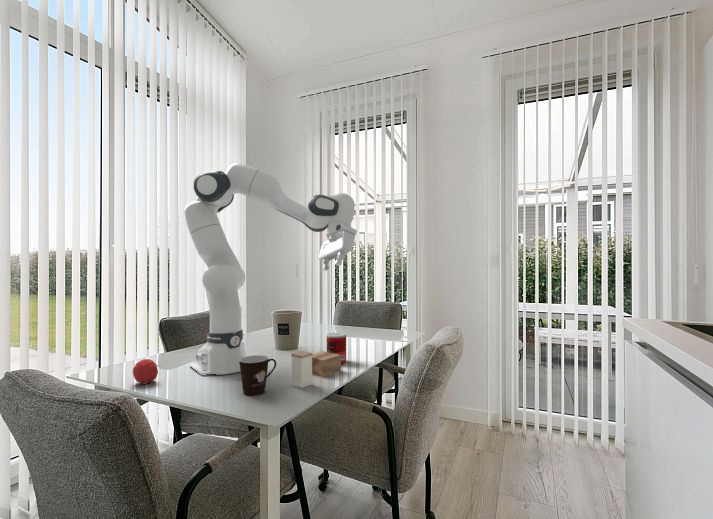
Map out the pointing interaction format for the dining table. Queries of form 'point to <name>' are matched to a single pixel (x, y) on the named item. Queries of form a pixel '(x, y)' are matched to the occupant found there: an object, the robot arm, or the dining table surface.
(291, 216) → the robot arm
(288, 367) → the dining table surface
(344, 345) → the canned food
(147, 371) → the tomato
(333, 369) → the block
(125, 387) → the dining table surface
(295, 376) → the pink-rimmed square pillar
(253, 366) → the coffee mug
